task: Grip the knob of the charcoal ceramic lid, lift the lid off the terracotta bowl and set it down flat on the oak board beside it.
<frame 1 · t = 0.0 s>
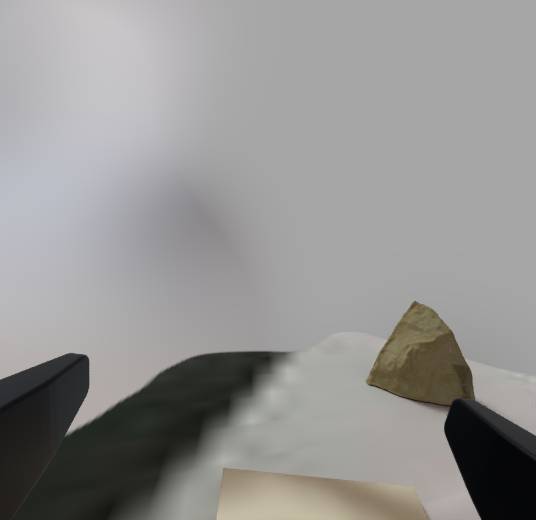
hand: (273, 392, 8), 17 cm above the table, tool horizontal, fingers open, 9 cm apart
rock: (419, 394, 37), on the table
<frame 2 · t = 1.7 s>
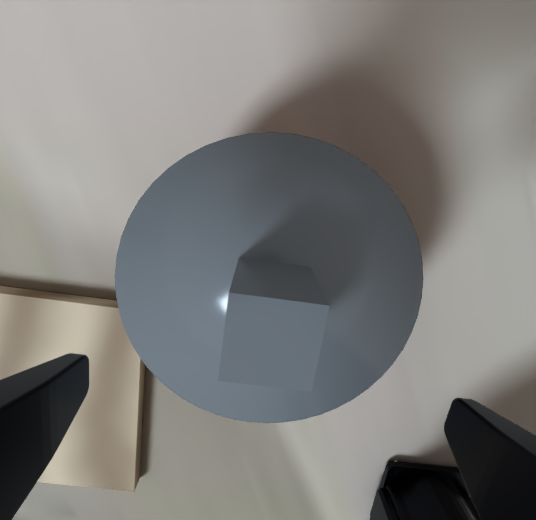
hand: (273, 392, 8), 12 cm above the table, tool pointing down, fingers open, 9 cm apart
lid: (269, 287, 15), point 5 cm above the table, touching bowl
board: (23, 385, 22), on the table
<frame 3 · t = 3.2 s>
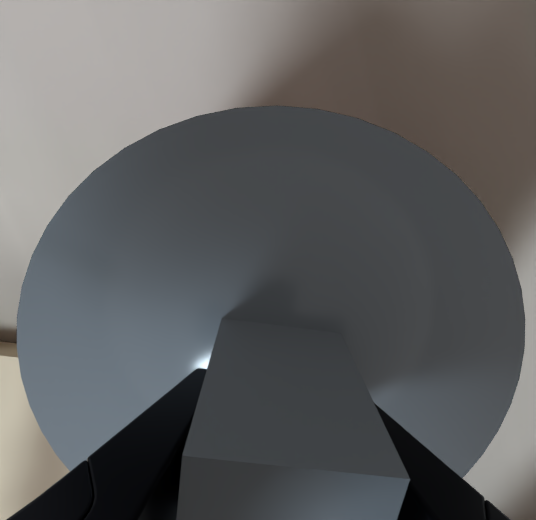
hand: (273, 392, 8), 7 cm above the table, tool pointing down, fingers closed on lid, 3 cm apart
lid: (272, 356, 9), point 5 cm above the table, touching bowl, gripper
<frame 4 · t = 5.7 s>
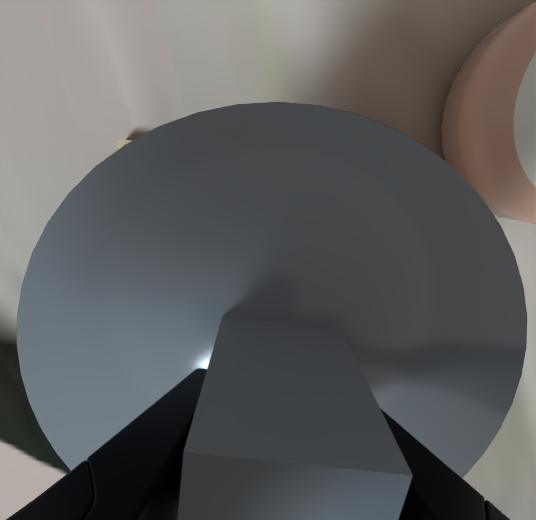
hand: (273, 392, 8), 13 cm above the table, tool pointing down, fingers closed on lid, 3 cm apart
lid: (272, 354, 9), point 12 cm above the table, touching gripper
bowl: (528, 121, 19), on the table
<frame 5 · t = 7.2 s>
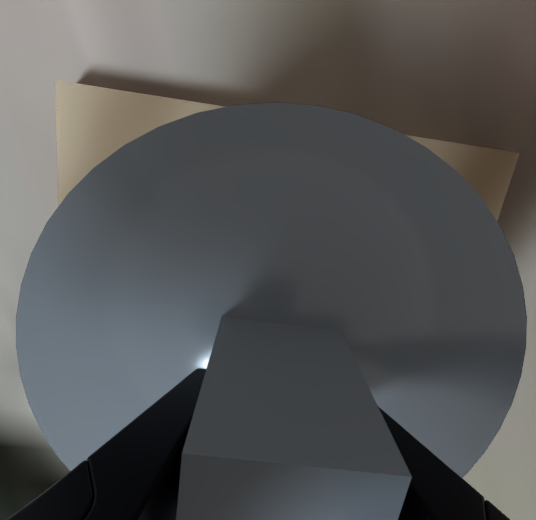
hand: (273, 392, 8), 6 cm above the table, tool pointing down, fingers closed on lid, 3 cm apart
lid: (272, 354, 9), point 5 cm above the table, touching gripper
board: (267, 297, 14), on the table
when the fingers open (4 cm above the table, at t = 8.3 s): lid drops 1 cm, resting on board.
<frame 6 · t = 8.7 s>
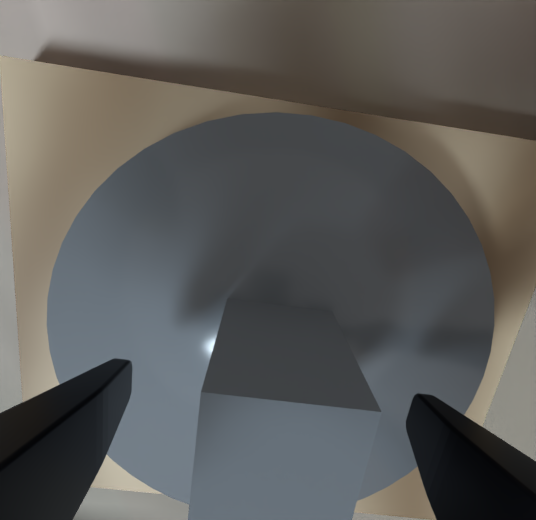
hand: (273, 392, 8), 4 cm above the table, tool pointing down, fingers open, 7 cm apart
lid: (271, 335, 11), point 1 cm above the table, touching board
board: (269, 323, 11), on the table
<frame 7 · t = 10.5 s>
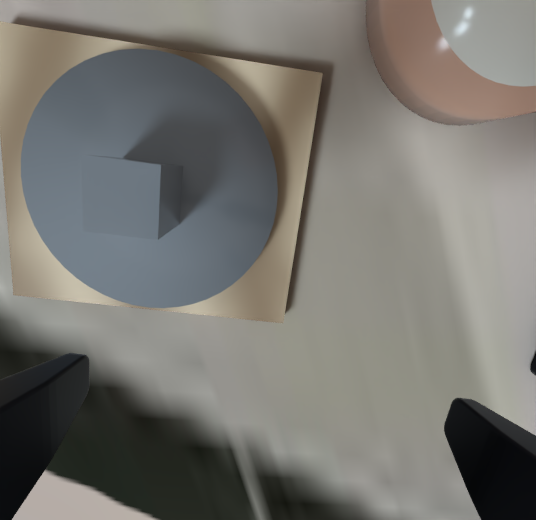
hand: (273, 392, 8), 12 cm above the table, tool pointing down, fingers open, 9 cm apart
lid: (157, 190, 18), point 1 cm above the table, touching board
bowl: (464, 14, 17), on the table
board: (161, 191, 19), on the table
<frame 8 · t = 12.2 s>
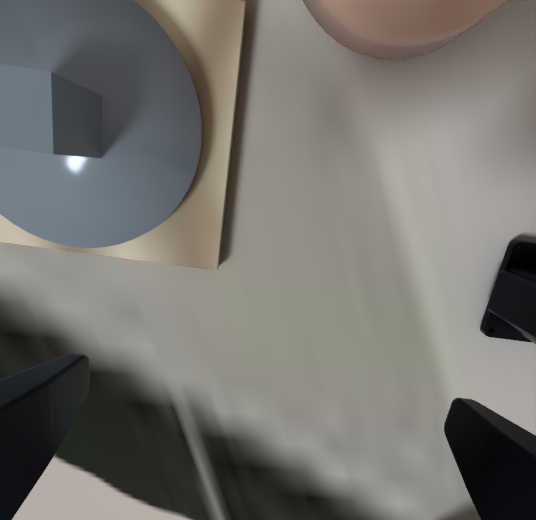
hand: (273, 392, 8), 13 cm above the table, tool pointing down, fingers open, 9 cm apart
lid: (82, 125, 17), point 1 cm above the table, touching board
board: (90, 129, 18), on the table
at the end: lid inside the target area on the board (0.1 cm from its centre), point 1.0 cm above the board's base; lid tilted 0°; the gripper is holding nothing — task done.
